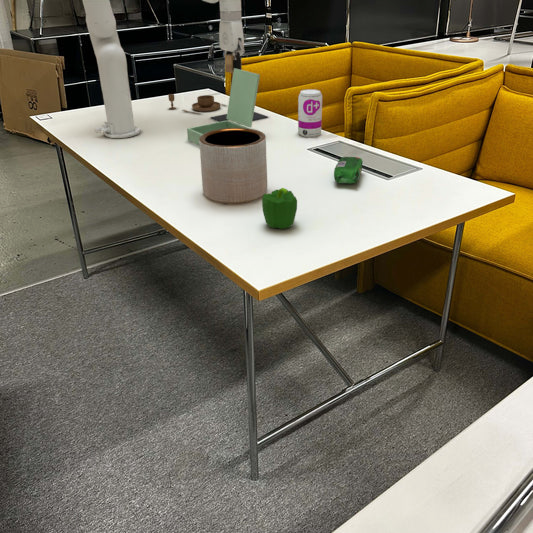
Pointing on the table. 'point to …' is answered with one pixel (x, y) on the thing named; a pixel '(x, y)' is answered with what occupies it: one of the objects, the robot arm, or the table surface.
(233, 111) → the lid
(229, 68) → the block
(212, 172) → the planter
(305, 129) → the supplement can
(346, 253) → the table surface
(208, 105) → the place setting
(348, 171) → the snack package
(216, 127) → the lunchbox
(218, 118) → the mat
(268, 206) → the bell pepper
